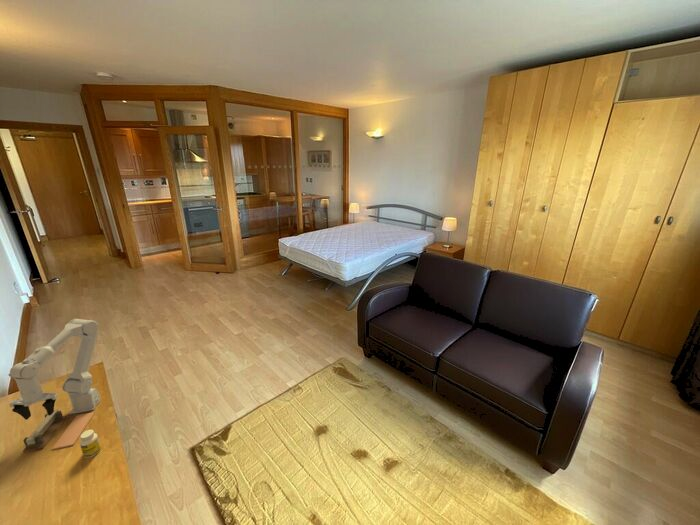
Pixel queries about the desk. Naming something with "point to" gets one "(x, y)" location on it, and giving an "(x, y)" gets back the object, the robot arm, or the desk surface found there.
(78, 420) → the mat
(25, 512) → the desk surface
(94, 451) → the supplement bottle
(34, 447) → the hook stand
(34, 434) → the steel rail
